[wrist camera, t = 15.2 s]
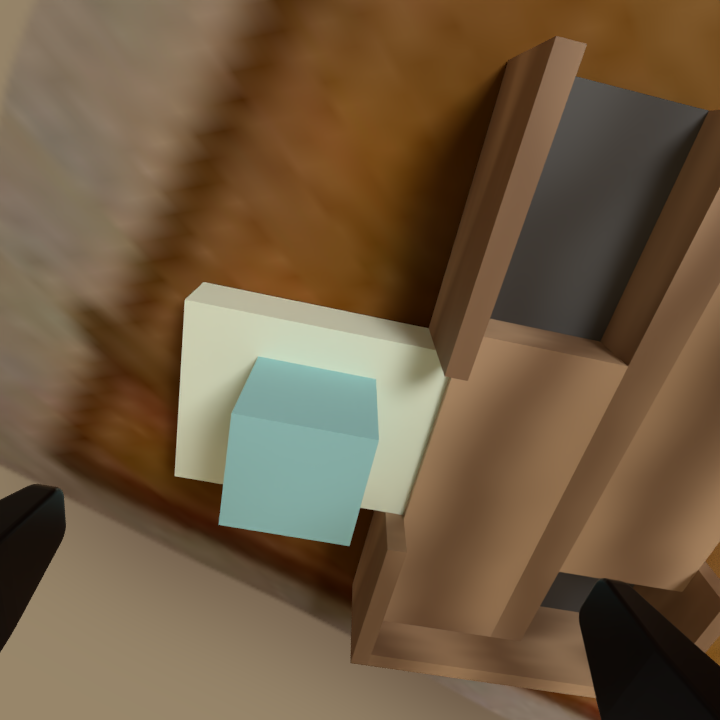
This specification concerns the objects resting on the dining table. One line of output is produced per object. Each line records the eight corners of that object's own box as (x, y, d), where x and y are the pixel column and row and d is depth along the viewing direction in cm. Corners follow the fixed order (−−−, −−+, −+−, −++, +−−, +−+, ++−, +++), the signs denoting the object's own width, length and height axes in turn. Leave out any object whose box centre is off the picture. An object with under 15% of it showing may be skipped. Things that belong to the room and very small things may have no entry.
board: (447, 332, 20) (456, 354, 18) (399, 481, 23) (403, 515, 21) (203, 282, 19) (184, 299, 17) (191, 445, 22) (174, 475, 20)
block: (376, 379, 18) (379, 440, 15) (351, 471, 20) (349, 546, 16) (258, 356, 18) (231, 413, 14) (245, 452, 20) (218, 524, 16)
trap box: (928, 168, 17) (1097, 179, 13) (618, 625, 27) (660, 707, 23) (508, 60, 16) (556, 35, 12) (352, 584, 26) (350, 663, 22)
